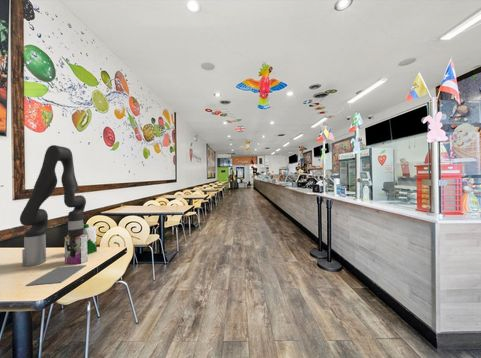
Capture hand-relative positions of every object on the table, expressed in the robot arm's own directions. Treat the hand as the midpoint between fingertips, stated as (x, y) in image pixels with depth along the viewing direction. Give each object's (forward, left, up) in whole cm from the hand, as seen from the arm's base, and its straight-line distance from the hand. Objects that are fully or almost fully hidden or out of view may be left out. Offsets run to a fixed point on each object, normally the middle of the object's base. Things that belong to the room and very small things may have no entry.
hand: (76, 254), depth 122 cm
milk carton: (-3, +18, -5) cm, 19 cm away
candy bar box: (0, 0, -5) cm, 5 cm away
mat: (+2, -17, -5) cm, 18 cm away
